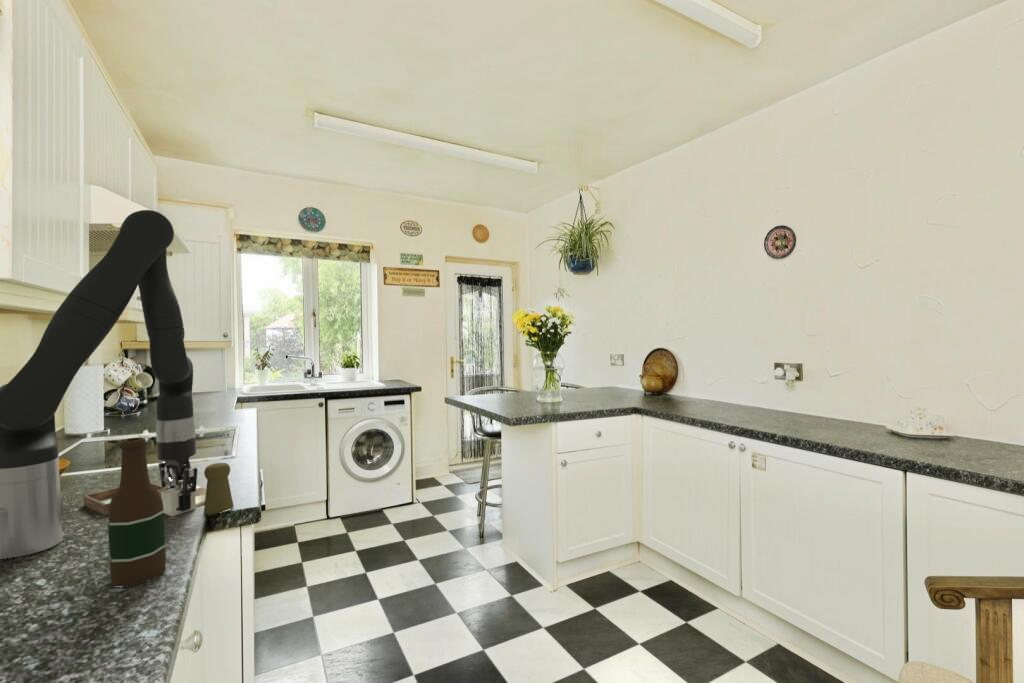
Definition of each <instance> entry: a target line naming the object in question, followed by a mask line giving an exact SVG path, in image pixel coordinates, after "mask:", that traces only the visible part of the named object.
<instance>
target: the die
mask: <svg viewBox="0 0 1024 683" xmlns="http://www.w3.org/2000/svg"><path fill="white" fill-rule="evenodd" d="M178 496H179V494H178V490H177V487H175V488H172V489H168V490H164V491H161V499H162V502H163V509H164V515H167V516H170V517H174V516H177V515H180V514H184V513H187V512H190V511H194V510H196V508H197V506H196V504H195V492H192V493H190V497H191V508H190V509H189V510H186V511H179V498H178Z"/></svg>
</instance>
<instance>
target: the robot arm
mask: <svg viewBox="0 0 1024 683" xmlns="http://www.w3.org/2000/svg"><path fill="white" fill-rule="evenodd" d="M119 227H120V229H119V232H118V234H117V236H116V238H115V239H114V241H113V243H111V244H112V245H111V246H110V248H109V250H108V251H107V252H106V254H104V255H103V257H102V258H101V259H100V260H99V262H97V263H96V264H95V265H94V266H93V268H91V269H90V270H89V271H88V273H86V275H85V276H84V277H83V278H82V279H80V281H79V282H78V283H76V285H75V286H74V288H73V289H72V290H71V291H70V292H69V293H68V295H67V296H66V298H65V299H64V300H63V301H62V303H60V306H59V307H58V308H57V310H56V311H55V312H54V314H53V316H52V318H51V319H50V320H49V323H48V324H47V327H46V328H45V330H44V332H43V334H42V337H41V339H40V341H39V343H38V345H37V347H36V349H35V351H34V352H33V354H32V355H31V357H30V358H29V359H28V360H27V362H26V363H25V364H24V365H23V366H22V367H21V369H20V370H19V371H18V372H17V373H16V375H15V376H14V377H12V379H11V380H9V381H8V383H5V384H3V385H1V386H0V559H5V560H7V559H6V558H8V559H12V558H13V557H14V558H19V557H24V556H28V555H29V556H30V555H32V554H36V553H39V552H42V551H46V550H48V549H50V548H53V547H55V546H56V545H58V544H60V543H61V542H62V541H63V522H62V504H61V502H62V501H61V483H60V461H59V457H60V456H59V443H58V438H57V432H56V417H55V415H56V412H57V410H58V408H59V406H60V404H61V402H62V401H63V398H64V396H65V394H66V392H67V391H68V389H69V387H70V385H71V384H72V382H73V380H74V378H75V376H76V375H77V374H78V371H79V370H80V368H82V366H83V365H84V364H85V363H86V361H87V360H88V359H90V357H91V355H92V354H94V352H95V351H96V350H97V348H98V347H99V346H100V345H101V344H102V342H103V341H104V339H105V338H106V337H107V336H108V334H109V333H110V331H112V329H113V327H115V325H116V323H117V322H118V320H120V317H121V316H122V314H123V313H124V311H125V309H126V308H127V306H128V304H130V301H131V300H132V298H133V295H134V294H135V291H136V290H137V288H138V291H139V295H140V302H141V307H142V313H143V318H144V323H145V329H146V334H147V337H148V340H149V358H150V366H151V371H152V374H153V376H154V377H155V379H157V380H158V389H159V390H158V396H157V398H156V407H155V408H156V410H155V411H156V428H155V436H156V458H157V460H159V461H163V462H159V463H158V470H159V475H160V482H161V484H160V485H161V486H162V487H165V490H168V489H172V488H175V487H177V490H178V494H179V496H178V498H179V511H186V510H189V509H190V508H191V497H190V493H192V492H195V491H196V485H197V481H198V468H197V467H191V463H190V458H191V457H193V456H195V455H196V454H197V438H196V423H195V419H194V402H193V394H192V393H193V385H194V366H193V365H194V364H193V362H192V360H191V359H190V357H188V356H187V351H186V346H185V341H184V340H185V334H186V332H185V327H184V321H183V317H182V316H183V315H182V311H181V308H180V304H179V300H178V298H177V295H176V294H175V291H174V287H173V285H172V282H171V279H170V276H169V271H168V264H167V248H169V247H170V245H172V243H173V241H174V239H175V238H174V237H175V232H174V231H175V230H174V227H173V224H172V222H171V221H170V219H169V218H168V217H167V216H166V215H164V214H163V213H161V212H159V211H156V210H152V209H144V210H143V209H142V210H137V211H134V212H132V213H131V214H128V215H127V216H126V217H125V218H124V221H123V222H122V223H121V226H119ZM180 481H182V482H180ZM191 484H192V485H191Z"/></svg>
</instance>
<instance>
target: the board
mask: <svg viewBox="0 0 1024 683" xmlns="http://www.w3.org/2000/svg"><path fill="white" fill-rule="evenodd" d="M182 481H183V480H181V481H180V482H182ZM191 485H192V484H191ZM206 488H207V487H203V486H200V485H197V484H196V491H195V504H196V507H200V506H203V505H204V506H205V497H206Z"/></svg>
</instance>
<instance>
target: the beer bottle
mask: <svg viewBox="0 0 1024 683" xmlns="http://www.w3.org/2000/svg"><path fill="white" fill-rule="evenodd" d="M147 445H148V443H147V441H146V438H145V437H133V438H127V439H123V440H121V441H120V444H119V449H121V459H120V460H121V463H120V464H121V466H120V467H121V468H120V482H119V486H118V487H119V489H118V490H117V492H116V493H115V494H114V496H113V497H112V499H111V502H110V504H109V507H108V515H107V530H108V531H107V532H108V553H109V557H108V558H109V572H110V580H111V583H112V586H113V588H114V587H115V586H133V585H136V584H140V583H142V582H146V581H148V580H152V579H154V578H155V577H157V576H158V575H159V574H161V573H162V572H164V573H165V571H166V560H167V557H166V537H165V536H166V534H165V533H166V532H165V513H164V509H163V502H162V499H161V497H160V495H159V493H158V491H157V490H156V489H155V488H154V487H153V486H152V485H151V483H150V482H151V481H150V477H149V471H148V470H149V469H148V462H147V454H146V452H147V451H146V446H147ZM162 574H163V573H162ZM162 574H161V575H162ZM159 576H160V575H159ZM159 576H158V577H159ZM158 577H157V578H158ZM155 579H156V578H155ZM155 579H154V580H155ZM152 581H153V580H152ZM146 583H147V582H146ZM140 585H141V584H140Z"/></svg>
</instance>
